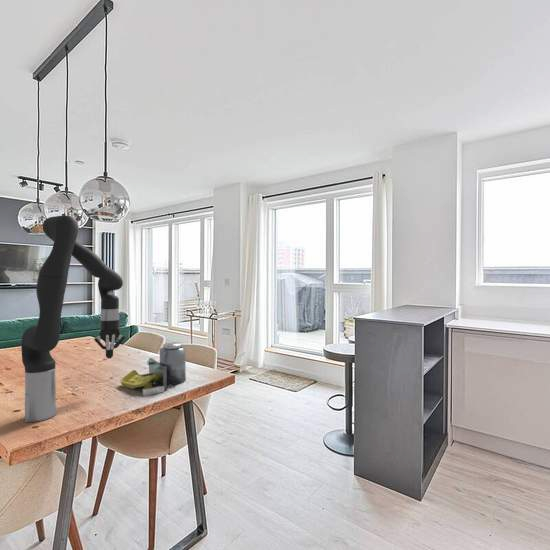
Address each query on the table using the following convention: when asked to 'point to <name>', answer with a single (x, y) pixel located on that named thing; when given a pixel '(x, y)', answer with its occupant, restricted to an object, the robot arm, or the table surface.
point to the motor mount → (167, 368)
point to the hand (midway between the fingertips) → (109, 358)
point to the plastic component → (138, 380)
